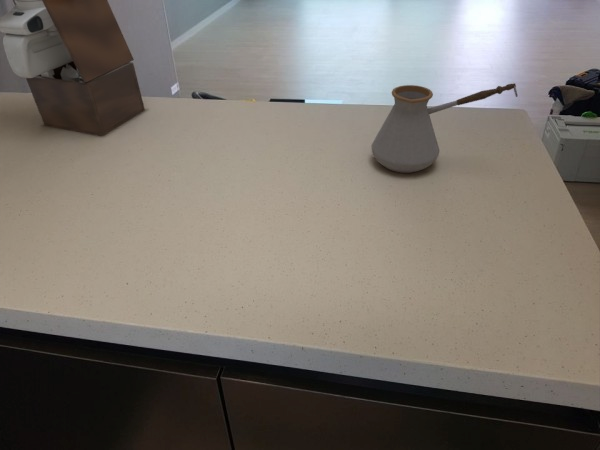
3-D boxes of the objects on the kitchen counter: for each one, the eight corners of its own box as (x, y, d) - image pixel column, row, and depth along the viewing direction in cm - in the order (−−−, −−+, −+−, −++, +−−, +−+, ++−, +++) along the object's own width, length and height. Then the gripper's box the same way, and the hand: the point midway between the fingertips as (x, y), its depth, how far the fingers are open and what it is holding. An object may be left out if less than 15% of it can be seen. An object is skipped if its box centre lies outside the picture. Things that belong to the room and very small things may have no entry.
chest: (44, 126, 96) (24, 75, 90) (90, 102, 106) (75, 55, 100) (102, 137, 91) (86, 84, 85) (145, 111, 101) (133, 62, 95)
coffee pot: (367, 177, 77) (373, 90, 68) (373, 145, 86) (379, 65, 76) (501, 188, 73) (527, 98, 64) (492, 154, 82) (514, 71, 73)
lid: (34, -13, 76) (54, -21, 74) (92, -27, 86) (111, -34, 84) (84, 82, 85) (103, 78, 82) (131, 60, 95) (149, 56, 92)
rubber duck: (78, 106, 93) (64, 67, 88) (54, 102, 95) (40, 63, 91) (97, 96, 97) (85, 58, 92) (74, 93, 99) (61, 55, 94)
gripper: (74, 1, 95) (94, 67, 103) (-13, 25, 80) (19, 101, 88) (98, 2, 93) (116, 70, 101) (14, 27, 78) (43, 105, 86)
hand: (70, 85), depth 94 cm, fingers closed on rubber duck, 5 cm apart
